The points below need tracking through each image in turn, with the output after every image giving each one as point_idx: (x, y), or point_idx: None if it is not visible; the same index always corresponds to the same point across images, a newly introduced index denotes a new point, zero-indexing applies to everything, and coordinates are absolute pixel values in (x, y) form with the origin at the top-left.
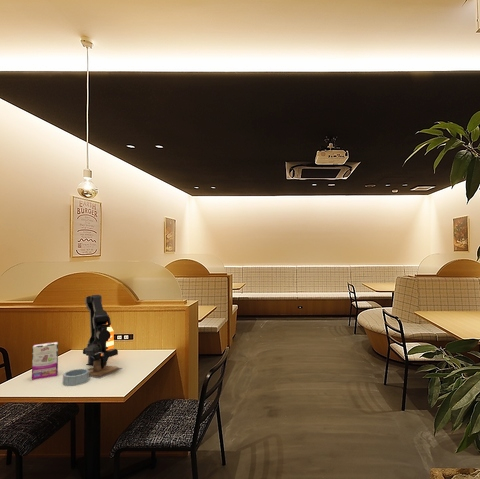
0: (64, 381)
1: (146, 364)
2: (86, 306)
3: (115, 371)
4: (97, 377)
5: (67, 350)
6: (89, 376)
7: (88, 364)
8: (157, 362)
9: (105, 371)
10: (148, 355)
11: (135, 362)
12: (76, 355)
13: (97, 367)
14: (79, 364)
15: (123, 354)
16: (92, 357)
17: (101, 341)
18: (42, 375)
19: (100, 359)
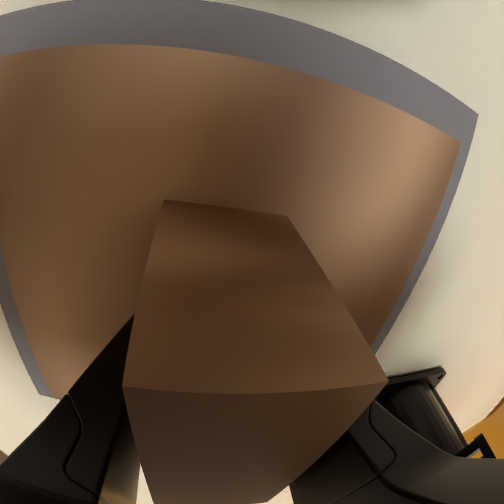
0: None
1: (14, 439)
2: None
3: (7, 318)
4: (44, 24)
5: (494, 409)
6: (229, 16)
7: (429, 380)
8: (5, 450)
9: (49, 257)
10: (139, 501)
11: None
12: (478, 407)
13: (165, 247)
14: (474, 359)
15: (278, 494)
16: (467, 467)
17: None
18: None
19: (254, 486)
